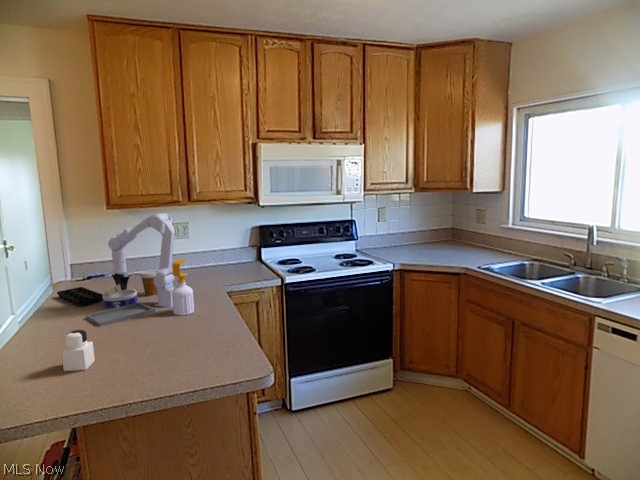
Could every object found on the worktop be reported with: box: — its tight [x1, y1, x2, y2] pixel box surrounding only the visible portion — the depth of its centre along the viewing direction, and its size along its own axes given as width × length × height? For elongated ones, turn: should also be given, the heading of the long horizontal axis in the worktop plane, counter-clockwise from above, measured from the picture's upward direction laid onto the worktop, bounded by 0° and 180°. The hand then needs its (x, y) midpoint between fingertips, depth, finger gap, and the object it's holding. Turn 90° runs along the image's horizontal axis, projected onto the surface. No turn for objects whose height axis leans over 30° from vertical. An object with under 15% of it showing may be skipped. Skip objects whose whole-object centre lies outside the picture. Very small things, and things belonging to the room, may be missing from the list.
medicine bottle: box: [61, 329, 96, 372], centre depth 146 cm, size 7×7×12 cm
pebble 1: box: [105, 285, 117, 295], centre depth 214 cm, size 4×4×3 cm
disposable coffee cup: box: [140, 269, 158, 297], centre depth 230 cm, size 10×10×12 cm
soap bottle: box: [171, 258, 195, 316], centre depth 199 cm, size 9×9×25 cm
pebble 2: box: [115, 284, 127, 292], centre depth 215 cm, size 4×4×3 cm
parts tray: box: [85, 301, 156, 327], centre depth 197 cm, size 24×16×2 cm, turn 136°
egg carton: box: [56, 286, 104, 308], centre depth 225 cm, size 18×30×4 cm, turn 62°
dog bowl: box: [102, 288, 138, 309], centre depth 215 cm, size 15×15×6 cm
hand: (121, 288), depth 215 cm, fingers closed on pebble 2, 4 cm apart
